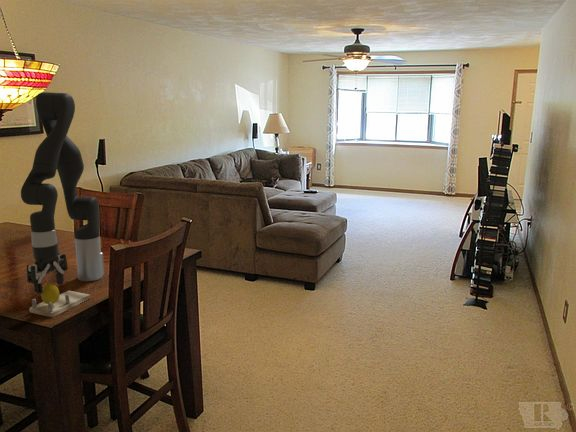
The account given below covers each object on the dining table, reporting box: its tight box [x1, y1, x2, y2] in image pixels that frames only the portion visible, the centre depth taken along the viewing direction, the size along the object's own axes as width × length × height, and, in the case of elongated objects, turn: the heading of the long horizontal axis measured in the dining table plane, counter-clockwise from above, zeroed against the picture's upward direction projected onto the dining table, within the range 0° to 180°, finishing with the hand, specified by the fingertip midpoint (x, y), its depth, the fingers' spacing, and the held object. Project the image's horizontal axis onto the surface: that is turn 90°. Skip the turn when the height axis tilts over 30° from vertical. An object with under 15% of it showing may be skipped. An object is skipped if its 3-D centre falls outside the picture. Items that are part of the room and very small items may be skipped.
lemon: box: [40, 282, 60, 305], centre depth 161 cm, size 6×6×8 cm
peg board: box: [29, 290, 91, 318], centre depth 166 cm, size 17×10×4 cm, turn 159°
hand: (49, 288), depth 161 cm, fingers open, 8 cm apart
